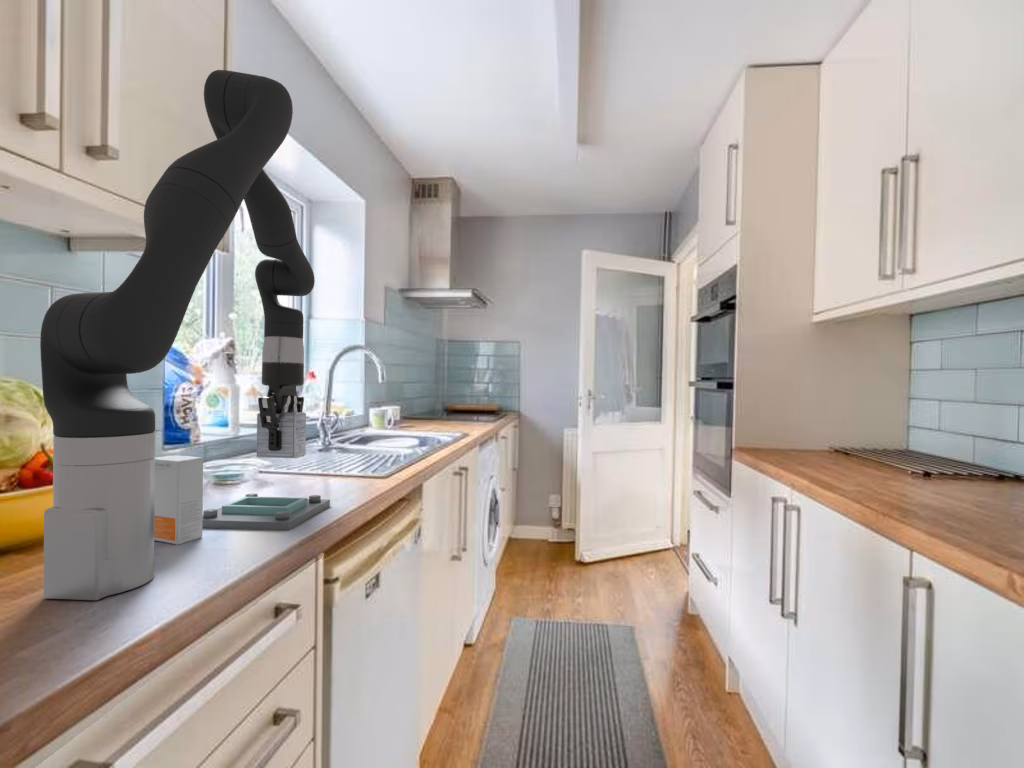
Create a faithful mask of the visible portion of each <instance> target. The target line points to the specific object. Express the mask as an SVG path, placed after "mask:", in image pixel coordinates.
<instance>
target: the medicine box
mask: <svg viewBox="0 0 1024 768" xmlns="http://www.w3.org/2000/svg"><path fill="white" fill-rule="evenodd" d="M276 414H280V413H276ZM266 419H267V421H268V418H267V417H266ZM277 422H278V419H277ZM306 429H307V414H306V412H302V413H299V412H290V413H287V414H285V418H284V419H283V421H282V430H281V431H282V445H281V450H279V451H270V450H269V449H268V442H269V431H268V430H267V429H266V428H262V426H261V418H260V412H259V413H256V454H255V455H256V458H266V459H267V458H269V459H270V458H273V459H277V458H278V459H298V458H302V457H305V456H306V455H307V454H306V453H307V452H306V451H307V450H306V449H307V447H306V446H307V444H306V443H307V441H306V440H307V437H306V436H307V432H306V431H307V430H306Z"/></svg>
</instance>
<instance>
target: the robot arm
mask: <svg viewBox="0 0 1024 768" xmlns="http://www.w3.org/2000/svg"><path fill="white" fill-rule="evenodd" d="M203 101H204V107H205V111H206V115H207V118H208V121H209V124H210V127H211V129H212V131H213V133H214V136H215V138H216V140H213V141H211V142H208V143H206V144H204V145H202V146H199V147H197V148H195V149H193V150H191V151H188V152H187V153H185V154H183V155H182V156H180V157H178V158H177V159H175V160H174V161H173V162H172V163H171V164H170V165H168V167H167V168H166V170H165V171H164V172H163V173H162V175H161V177H160V178H159V179H158V181H157V182H156V184H155V185H154V187H152V189H151V191H150V192H149V194H148V197H147V198H146V200H145V205H144V208H143V209H144V211H143V225H144V235H145V246H144V249H143V252H142V255H141V256H140V258H139V260H138V261H137V263H135V265H134V267H133V269H132V271H131V272H130V273H129V275H128V276H127V277H126V279H125V280H124V281H123V282H122V283H121V284H120V285H119V286H118V287H117V288H116V289H115V290H112V291H104V292H102V291H99V292H97V291H96V292H82V293H81V292H79V293H72V294H68V295H67V294H66V295H64V296H62V297H60V298H59V299H57V300H55V301H54V302H53V303H52V304H51V305H50V306H49V308H48V309H47V310H46V312H45V315H44V317H43V320H42V323H41V328H40V340H39V341H40V343H39V345H40V365H41V380H42V381H41V382H42V383H41V384H42V397H43V398H42V399H43V403H44V406H45V410H46V411H47V412H46V413H48V415H49V417H50V419H51V421H52V427H53V428H52V434H53V437H52V439H53V440H52V443H53V444H52V445H53V447H52V450H53V451H52V452H53V453H52V454H53V455H52V461H53V462H52V463H53V464H52V506H51V507H48V508H46V509H45V510H44V512H43V599H52V600H53V599H55V600H78V601H79V600H81V601H98V600H101V599H103V598H105V597H108V596H112V595H116V594H120V593H125V592H126V591H129V590H133V589H135V588H138V587H140V586H143V585H145V584H146V583H148V582H150V581H152V579H154V577H155V540H154V533H155V458H156V413H155V410H154V409H153V408H152V407H151V406H149V405H148V404H146V403H144V402H142V401H141V400H139V399H138V398H136V397H135V396H134V395H133V393H132V392H131V391H130V389H129V386H128V379H127V378H128V377H127V375H129V374H132V375H133V374H140V373H144V372H148V371H150V370H152V369H153V368H155V367H157V366H158V365H159V364H160V363H161V362H163V360H164V359H165V358H166V356H167V355H168V353H169V352H170V351H171V349H172V347H173V344H174V342H175V340H176V337H177V336H178V333H179V330H180V327H181V326H182V323H183V321H184V318H185V315H186V312H187V310H188V308H189V305H190V303H191V300H192V298H193V296H194V295H193V294H194V293H195V290H196V288H197V286H198V284H199V282H200V280H201V278H202V276H203V274H204V272H205V271H206V269H207V267H208V265H209V263H210V261H211V259H212V257H213V255H214V253H215V251H216V249H217V247H218V246H219V244H220V243H221V241H222V239H223V238H224V236H225V235H226V233H227V231H228V230H229V229H230V226H231V224H232V223H233V221H234V219H235V218H236V215H237V213H238V211H239V210H240V207H241V205H242V203H243V201H244V204H245V206H246V210H247V213H248V217H249V220H250V224H251V228H252V233H253V236H254V239H255V243H256V247H257V249H258V251H259V252H260V254H263V255H264V256H265V257H266V256H267V258H263V259H261V260H260V261H259V262H258V264H257V265H256V266H255V267H256V268H255V271H254V278H255V283H256V286H257V289H258V292H259V296H260V299H261V303H262V308H263V314H264V315H263V316H264V317H263V318H264V324H263V327H264V328H263V329H264V330H263V337H264V338H263V345H262V352H261V353H262V357H261V384H262V385H263V386H268V390H267V394H266V396H259V397H258V398H257V399H258V401H257V402H258V408H259V409H258V410H259V413H260V418H261V426H262V428H266V429H267V430H268V431H269V442H268V449H269V450H270V451H279V450H281V445H282V431H281V430H282V421H283V419H284V418H285V414H287V413H290V412H299V413H303V409H304V402H305V398H304V396H301V395H300V396H298V392H297V387H301V386H303V385H304V381H305V379H304V378H305V375H304V374H305V345H304V323H305V322H304V314H303V312H302V310H300V309H297V308H295V307H291V306H286V305H282V304H281V303H280V301H279V299H278V296H282V297H283V296H286V297H287V296H288V297H305V296H308V295H309V294H311V292H312V291H313V289H314V287H315V283H316V282H315V281H316V280H315V273H314V271H313V268H312V266H311V264H310V261H309V260H308V258H307V256H306V255H305V253H304V251H303V249H302V247H301V245H300V244H299V240H298V237H297V232H296V227H295V223H294V218H293V214H292V210H291V208H290V205H289V203H288V201H287V199H286V197H285V196H284V195H283V193H282V192H281V190H280V189H279V188H278V186H277V185H276V184H275V182H274V181H273V180H272V179H271V178H270V176H269V175H268V173H266V171H265V169H264V168H265V166H266V165H267V164H268V162H270V160H271V159H272V157H273V156H274V154H276V152H277V151H278V149H279V148H280V147H281V146H282V144H283V143H284V141H285V139H286V137H287V135H288V133H289V131H290V128H291V126H292V120H293V113H294V112H293V110H294V109H293V100H292V97H291V95H290V93H289V91H288V89H287V88H286V87H285V86H284V85H283V84H282V83H281V82H279V81H278V80H275V79H273V78H270V77H266V76H264V75H263V76H262V75H256V74H251V73H247V72H239V71H233V70H226V69H216V70H213V71H212V72H211V73H210V74H208V75H207V78H206V80H205V83H204V85H203ZM268 257H269V258H268ZM276 413H280V414H276ZM266 417H267V418H268V421H267V419H266ZM277 419H278V422H277Z"/></svg>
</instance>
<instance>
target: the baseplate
mask: <svg viewBox="0 0 1024 768" xmlns="http://www.w3.org/2000/svg"><path fill="white" fill-rule="evenodd" d="M321 497H322V496H321V495H320V494H313V495H310V496H309V497H308V498H307V497H282V496H278V497H276V496H258V493H256V492H255V493H247V494H246V493H245V496H243V497H242V498H238V499H237V500H234V501H231V502H229V503H226V504H224V505H222V506H221V507H219V508H210V509H209V508H208V509H205V510H204V509H203V521H202V522H203V527H202V529H203V528H206V529H207V528H209V529H236V530H237V529H241V530H243V529H244V530H270V531H271V530H272V531H274V530H275V531H289V530H291V529H293V528H294V527H296V526H298V525H300V524H301V523H303V522H305V521H307V520H308V519H310V518H312V517H313V516H315V515H317V514H318V513H320V512H322V511H324V510H326V509H327V508H329V507H330V506H331V499H328V498H327V499H322V498H321Z"/></svg>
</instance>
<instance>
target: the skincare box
mask: <svg viewBox="0 0 1024 768" xmlns="http://www.w3.org/2000/svg"><path fill="white" fill-rule="evenodd" d="M203 482H204V457H199V456H192V455H175V454H174V455H173V454H171V455H166V456H158V457H157V456H155V533H154V541H157V542H162V543H167V544H173V545H175V546H178V545H179V546H180V545H182V544H185V543H188V542H191V541H192V542H193V541H195V540H198V539H201V538H203V528H202V527H203V522H202V521H203V511H204V509H203V506H204V505H203V501H204V499H203V498H204V497H203V496H204V494H203V493H204V492H203V491H204V490H203V489H204V488H203V486H204V483H203Z"/></svg>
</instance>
